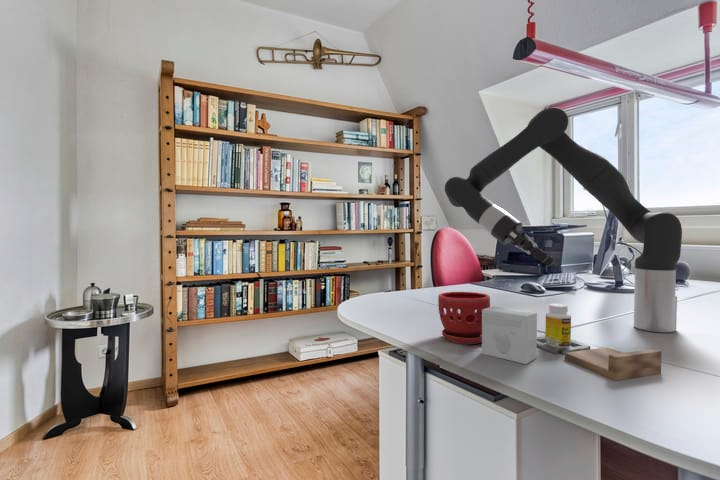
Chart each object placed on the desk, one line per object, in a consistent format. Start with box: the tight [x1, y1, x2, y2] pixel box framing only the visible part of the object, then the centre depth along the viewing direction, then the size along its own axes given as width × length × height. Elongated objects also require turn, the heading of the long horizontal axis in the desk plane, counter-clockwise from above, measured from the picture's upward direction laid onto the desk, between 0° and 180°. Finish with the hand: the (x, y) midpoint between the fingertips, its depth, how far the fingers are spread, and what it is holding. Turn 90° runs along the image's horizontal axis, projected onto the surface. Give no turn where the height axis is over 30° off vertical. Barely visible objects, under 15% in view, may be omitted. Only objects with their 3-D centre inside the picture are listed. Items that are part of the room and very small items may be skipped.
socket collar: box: [537, 335, 591, 355], centre depth 92 cm, size 10×10×1 cm
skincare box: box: [481, 306, 538, 365], centre depth 86 cm, size 10×6×10 cm, turn 45°
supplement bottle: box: [544, 303, 572, 349], centre depth 92 cm, size 6×6×10 cm
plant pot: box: [437, 291, 491, 345], centre depth 98 cm, size 13×13×12 cm
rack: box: [564, 347, 662, 381], centre depth 79 cm, size 12×12×4 cm
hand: (548, 261), depth 96 cm, fingers open, 8 cm apart
